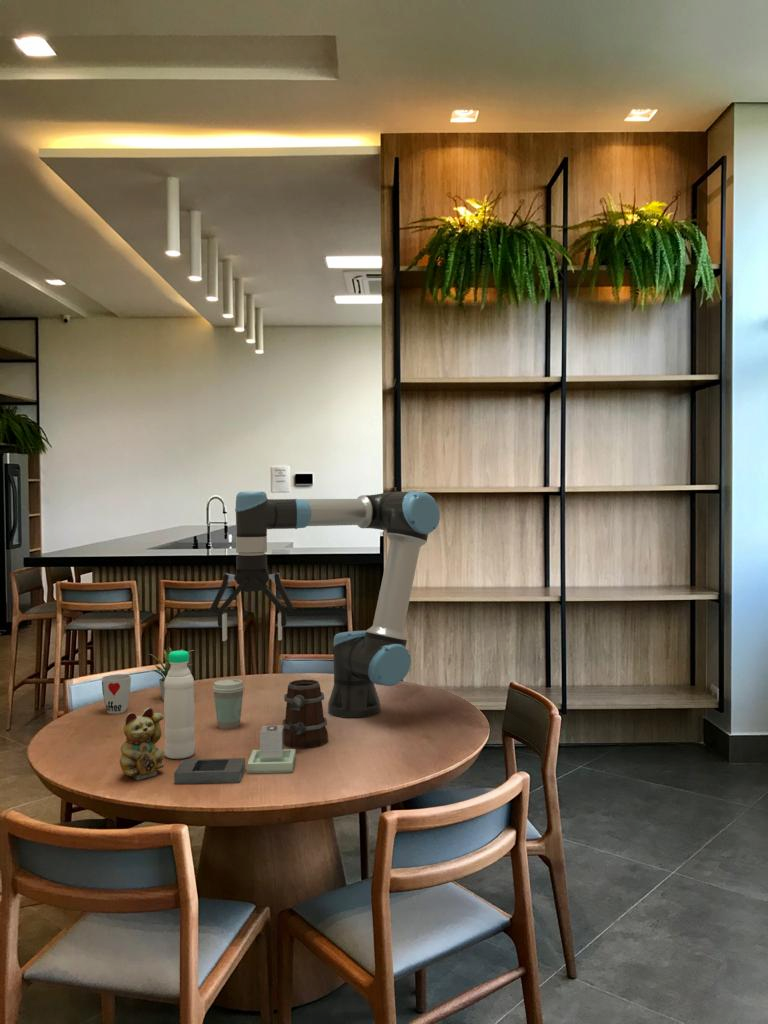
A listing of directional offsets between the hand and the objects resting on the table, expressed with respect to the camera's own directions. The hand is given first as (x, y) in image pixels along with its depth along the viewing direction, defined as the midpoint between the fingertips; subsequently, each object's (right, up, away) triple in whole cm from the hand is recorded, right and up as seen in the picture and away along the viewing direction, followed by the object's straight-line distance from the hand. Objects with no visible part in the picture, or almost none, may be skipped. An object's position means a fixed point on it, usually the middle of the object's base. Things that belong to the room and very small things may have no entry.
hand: (252, 639), depth 197 cm
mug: (+12, -27, +3) cm, 30 cm away
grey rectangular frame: (-6, -27, -20) cm, 34 cm away
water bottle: (-17, -27, -5) cm, 32 cm away
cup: (-45, -27, +35) cm, 63 cm away
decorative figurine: (-22, -27, -18) cm, 40 cm away
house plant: (-32, -26, +48) cm, 63 cm away
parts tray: (+7, -27, -13) cm, 31 cm away
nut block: (+7, -26, -13) cm, 30 cm away
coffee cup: (-10, -27, +19) cm, 34 cm away
